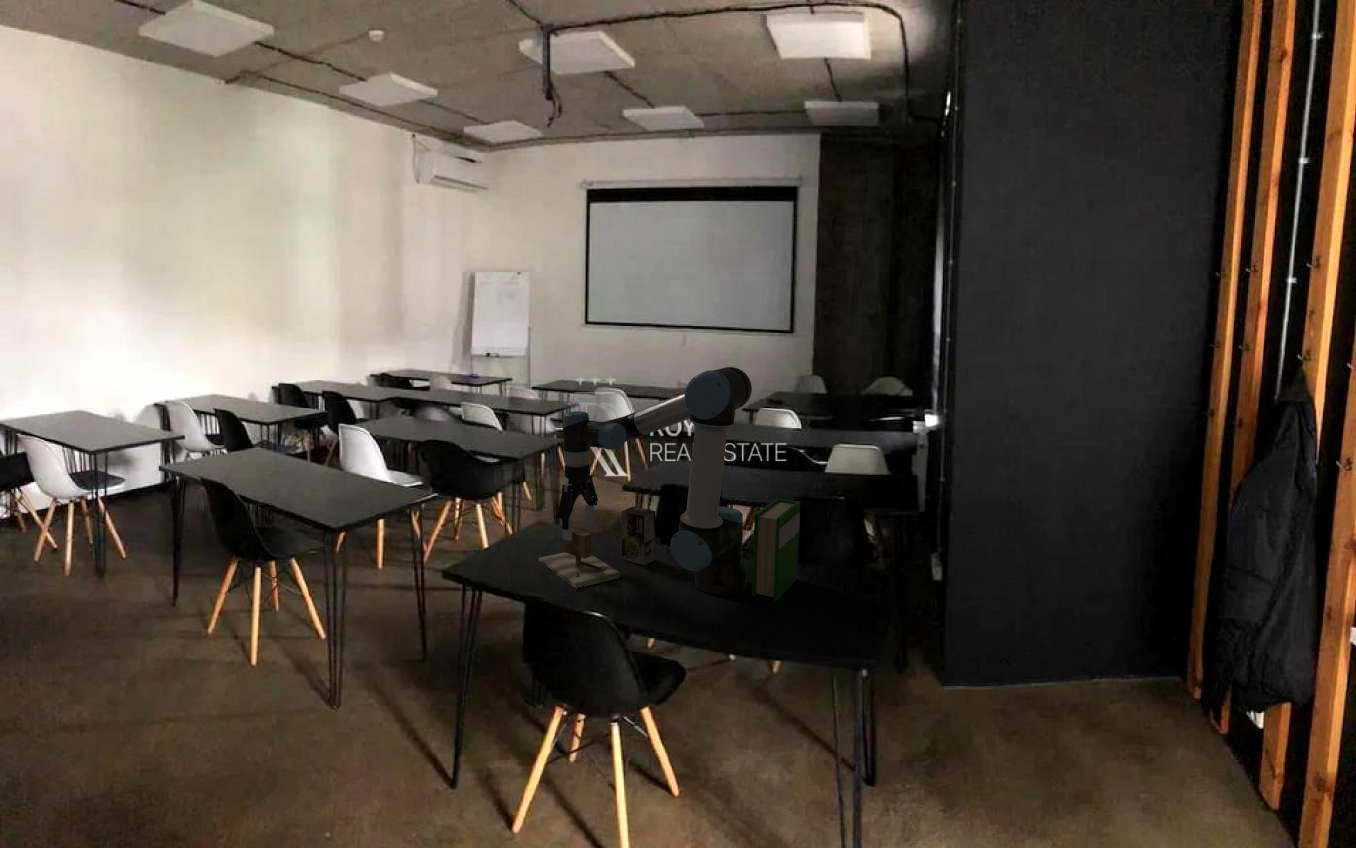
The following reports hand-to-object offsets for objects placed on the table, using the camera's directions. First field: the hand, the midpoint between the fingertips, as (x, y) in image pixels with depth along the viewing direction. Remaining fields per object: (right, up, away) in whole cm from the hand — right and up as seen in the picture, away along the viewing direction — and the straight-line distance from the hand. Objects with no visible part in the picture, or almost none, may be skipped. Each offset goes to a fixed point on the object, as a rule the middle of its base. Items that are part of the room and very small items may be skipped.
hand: (579, 532), depth 231 cm
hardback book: (+58, -15, -8) cm, 60 cm away
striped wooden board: (-1, -12, +2) cm, 12 cm away
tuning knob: (+1, -10, +1) cm, 10 cm away
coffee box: (+17, -10, +12) cm, 23 cm away
